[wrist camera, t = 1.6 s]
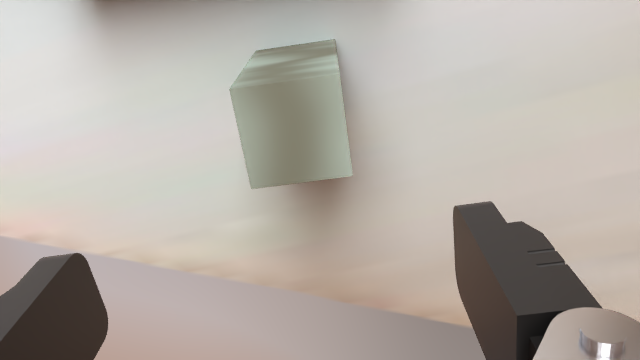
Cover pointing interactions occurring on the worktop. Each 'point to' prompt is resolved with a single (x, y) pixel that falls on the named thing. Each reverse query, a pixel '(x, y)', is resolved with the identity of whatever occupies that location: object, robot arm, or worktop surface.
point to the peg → (292, 115)
